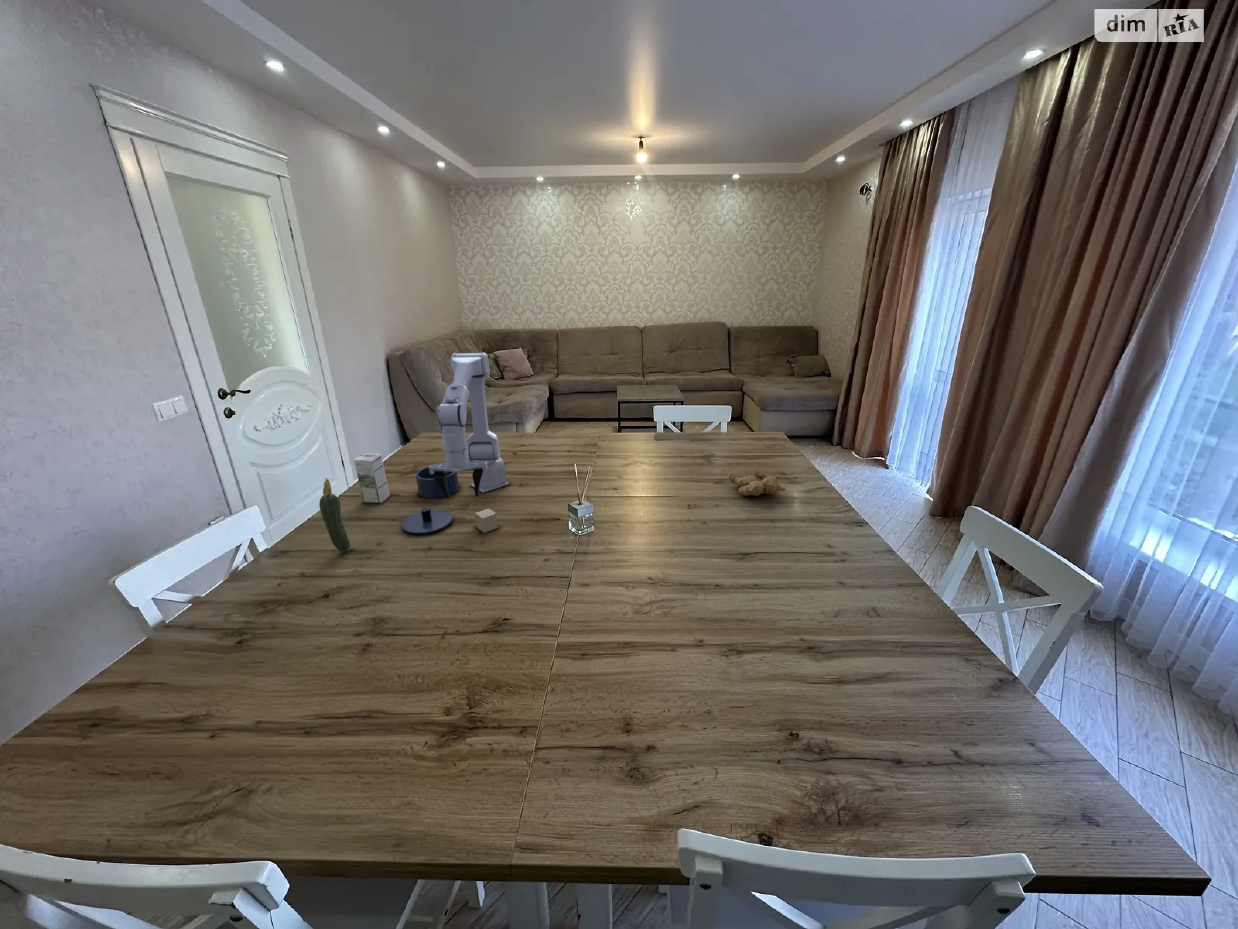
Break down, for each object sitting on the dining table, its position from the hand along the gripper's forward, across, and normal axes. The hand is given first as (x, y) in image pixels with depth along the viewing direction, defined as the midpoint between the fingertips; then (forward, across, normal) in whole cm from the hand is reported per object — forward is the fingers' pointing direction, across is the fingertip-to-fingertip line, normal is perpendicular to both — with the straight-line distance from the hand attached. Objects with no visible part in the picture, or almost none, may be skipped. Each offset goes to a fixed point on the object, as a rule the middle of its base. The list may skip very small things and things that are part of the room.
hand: (462, 496), depth 130 cm
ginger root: (+10, +88, +8) cm, 89 cm away
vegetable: (+10, -29, -9) cm, 32 cm away
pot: (+9, -12, +26) cm, 30 cm away
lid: (+9, -11, +3) cm, 14 cm away
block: (+9, +6, -2) cm, 11 cm away
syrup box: (+10, -30, +22) cm, 39 cm away
